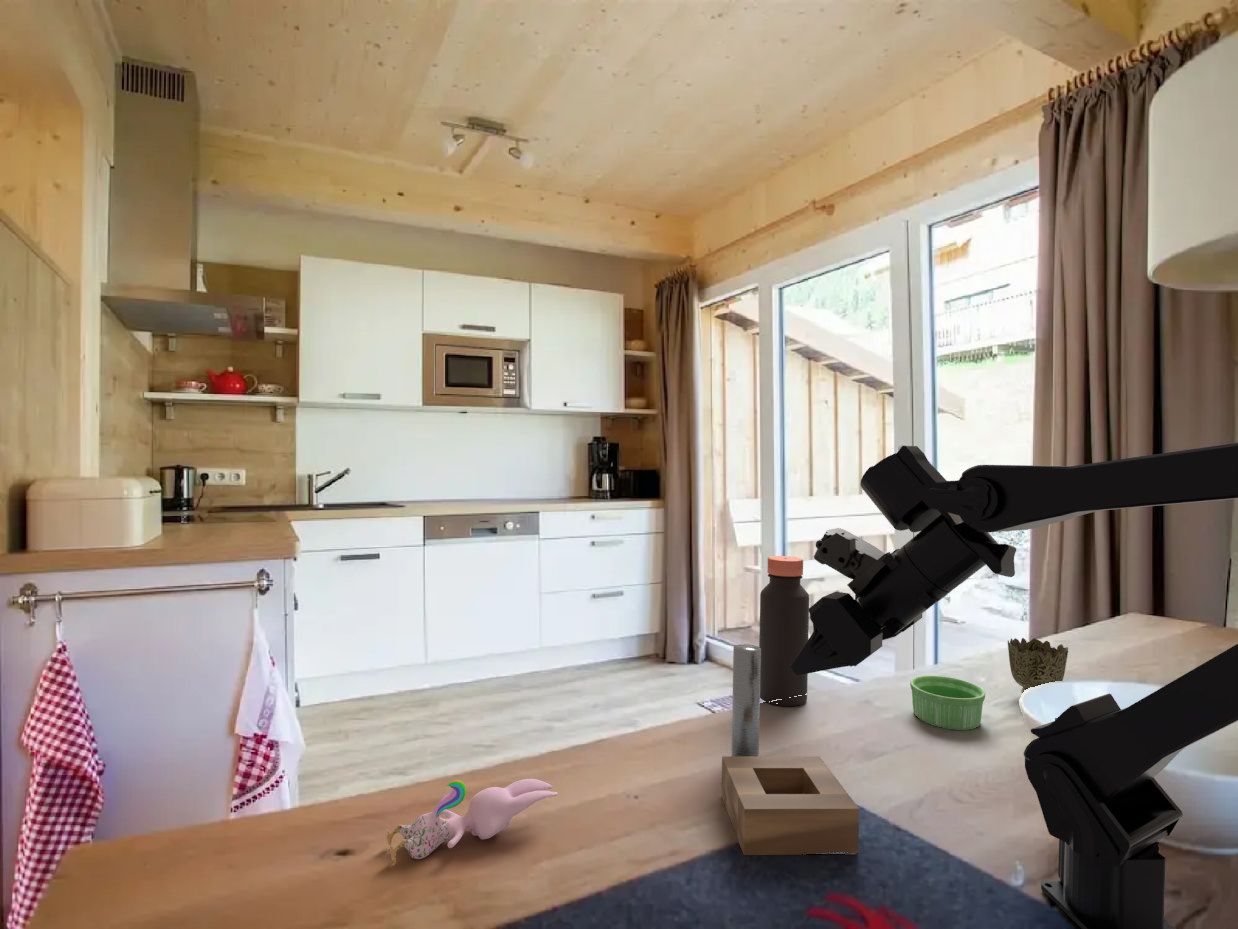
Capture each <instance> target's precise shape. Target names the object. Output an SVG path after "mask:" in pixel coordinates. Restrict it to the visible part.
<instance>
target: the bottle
mask: <svg viewBox="0 0 1238 929" xmlns="http://www.w3.org/2000/svg"><path fill="white" fill-rule="evenodd" d="M766 571H767V572H766V573H767V577H769V583H767V585H765V587H763V588H762V590H761V591H760V595H759V596H760V597H759V636H758V637H759V638H758V639H759V641H758V642H759V643H758V644H759V646H758V647H760V648H761V668H760V700H762V701H764V702H765V703H768V702H769V701H770V703H769V704H770V705H774V706H779V707H797V706H798V705H799V706H801V705H804V704H805V703H806V702H807V700H808V674H809V673H808V674H803V675H798V676H797V675H796V674H795V673H794V672H793V671H792V669H791V667H790V666H791V664H792V663H793V661H794V660H795V659H796V657H797V656H798V654H799V653H800V651H801V650H802V648H803V647H804V645H805V644H806V643H807V641H808V640H809V632H810V631H809V630H810V629H809V625H810V623H809V619H810V613H809V608H810V595H809V593H808V592H807V590H806V589H805V588H804V587H803V586H802V585H801V579H803V575H804V559H803V558H801V557H797V556H791V555H772V556H769V557H767V570H766ZM806 693H807V695H805V694H806ZM798 695H802V696H798ZM794 696H797V697H794ZM789 697H791V698H789ZM776 699H782V700H777V701H773V702H771V701H772V700H776ZM776 703H778V704H776ZM799 706H798V707H799Z"/></svg>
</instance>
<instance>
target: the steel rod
mask: <svg viewBox="0 0 1238 929" xmlns="http://www.w3.org/2000/svg"><path fill="white" fill-rule="evenodd" d="M732 648H733V656H732V659H733V661H732V664H733V665H732V704H731V705H732V708H731V709H732V710H731V717H732V718H731V753H730V754H731V756H760V714H761V713H760V712H761V710H760V709H761V708H760V707H761V698H760V668H761V648H760V647H759V646H758V645H755V644H749V643H748V644H747V643H741V644H740V643H739V644H735V645H733V647H732Z"/></svg>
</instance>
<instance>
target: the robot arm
mask: <svg viewBox="0 0 1238 929" xmlns="http://www.w3.org/2000/svg"><path fill="white" fill-rule="evenodd" d="M860 487H861V489H862V491H863V492H865V494H866V496H868V498H869V500H871V502H872V503H873V504H874V505H875V507H876V508H877V509H878V510H879V511H880V513H881V514H882V515H883V516H884V518H885V519H886V520H887V521H888V523H889V524H890V525H891V526H892V528H893V529H894V530H896V531H900V532H901V531H907V530H909V532H911V533H917V534H916V535H914V536H913V537H912V538H911V539H909V540H908V541H907V542H906V543H905V544H904V545H902V547H900V548H896V549H895V550H893V551H892V552H891V551H888V552H884V551H882V550H881V549H879V548H877V546H875V545H873V544H871V542H868V541H866V540H864V539H862V538H860V537H859V536H857V535H855V534H853V533H852V532H850V531H849V530H846V529H844V528H840V527H836V528H831V529H827V530H826V531H825V533H824V534H823V536H822V538H820V539H818V540H816V541H815V547H816V551H815V552H814V555H813V559H814V561H816V562H818V564H819V563H820V564H821V565H826V566H828V567H829V568H831V569H833V570H835V571H837V572H838V573H840V574H841V575H843V576H844V577H846V578H848V579H851V581H850V582H848V583H847V585H846V586H847V587H848V588H849V589H850V590H851V591H852V593H854V594H855V595H854V597H855V598H854V597H853V595H851V594H850V593H848V592H842V591H841V592H840V591H833V592H831V593H829V594H826V595H825V596H822V597H821V598H820V599H818V600H817V601H816V602H815V603H813V604H812V605H811V606H809V619H810V620H811V623H812V627H813V628H812V629H813V630H812V633H811V635H810V636H809V637H808V641H807V643H806V644H805V645H804V647H803V648H802V650H801V651H800V653H799V654H798V656H797V657H796V659H795V660H794V661H793V663H792V664H791V666H790V667H791V669H792V671H793V672H794V673H795V674H796V675H797V676H798V675H803V674H811V673H812V674H813V673H818V672H823V671H828V670H833V669H838V668H845V667H851V668H852V667H857V666H858V665H859V664H861V663H862V662H863V661H865V660H866V659H868V658H869V657H871V655H873V654H874V653H876V652H877V651H878V650H879V649H881V648H882V647H883V641H884V640H888V639H892V638H895V637H897V636H898V635H900V634H901V633H904V632H905V631H906V630H908V629H909V628H911V627H912V626H914V625H915V624H916V623H918V621H920V620H921V619H922V618H923V614H924V612H926V611H927V610H928V609H930V608H932V607H933V606H934V605H935V604H937V603H939V602H940V601H941V600H942V599H944V598H945V597H946V596H948V594H950V593H951V592H952V591H954V590H955V589H956V588H957V587H959V586H960V585H961V584H962V583H964V582H965V581H966V580H968V579H970V577H971V576H973V575H974V574H976V573H977V572H978V571H979V570H981V569H982V568H983V567H984V566H987V568H989V569H990V571H991V572H992V573H993V574H995V575H999V576H1003V577H1008V578H1012V577H1014V576H1015V573H1016V570H1015V568H1016V567H1015V555H1016V552H1017V548H1016V547H1015V546H1013V545H1010V544H1008V543H998V542H997V540H996V539H995V538H994V537H993V536H992V535H991V534H990V533H998V532H999V533H1001V532H1013V531H1015V532H1016V531H1028V530H1033V529H1038V528H1040V527H1045V526H1049V525H1052V524H1057V523H1060V522H1064V521H1065V522H1066V521H1068V520H1071V519H1074V518H1077V517H1081V516H1083V515H1087V514H1091V513H1092V514H1093V513H1096V512H1100V511H1110V510H1121V509H1134V508H1144V507H1146V508H1147V507H1155V506H1156V507H1157V506H1169V505H1171V506H1172V505H1179V504H1180V505H1181V504H1191V503H1193V504H1194V503H1204V502H1215V501H1227V500H1228V501H1229V500H1238V442H1234V443H1227V444H1219V445H1213V446H1207V447H1204V446H1203V447H1198V448H1191V449H1183V450H1177V451H1171V452H1170V451H1169V452H1163V453H1156V454H1149V455H1142V456H1140V455H1139V456H1135V457H1128V458H1122V459H1121V458H1119V459H1113V460H1106V461H1105V460H1104V461H1099V462H1092V463H1091V462H1090V463H1086V464H1078V465H1034V464H1033V465H1031V464H1030V465H1028V464H1027V465H1025V464H1023V465H1022V464H1017V465H1016V464H978V465H974V466H971V467H968V468H967V469H965V470H963V472H962V473H961V476H960V477H959V479H957V480H947V479H946V478H945V477H944V476H943V475H942V474H941V473H940V472H939V471H938V469H936V468H935V467H934V466H933V464H932V463H931V462H930V461H929V459H928V458H927V456H926V454H925V453H924V451H922V450H921V449H920V447H919V446H918V445H902V446H901V447H900V448H899V450H898V451H897V452H896V453H892V454H890V455H888V456H887V457H885V458H882V459H881V460H880V461H878V462H877V463H875V464H874V465H872V466H869V468H868V469H866V471H865V472H864V474H863V475H862V476H861V480H860ZM1237 722H1238V643H1236V644H1234V645H1233V646H1231V647H1230V648H1227V649H1226V650H1224V651H1222V652H1221V653H1220V654H1217V655H1216V656H1214V657H1212V658H1211V659H1209V660H1207V661H1205V662H1203V663H1202V664H1200V665H1199V666H1198V665H1197V667H1195V668H1192V670H1190V671H1188V672H1185V674H1183V675H1181V676H1179V677H1177V678H1176V679H1174V680H1173V681H1170V682H1169V683H1167V684H1165V685H1164V686H1161V687H1160V688H1158V689H1157V690H1155V691H1154V692H1151V693H1150V694H1148V695H1147V696H1145V697H1143V698H1141V699H1140V700H1137V701H1136V702H1134V703H1133V704H1131V705H1129V706H1127V707H1125V708H1121V707H1120V706H1119V705H1118V702H1117V701H1116V700H1115V698H1114V696H1113V695H1112V694H1111V693H1110V692H1109V693H1106V694H1103V695H1099V696H1098V697H1094V698H1091V699H1088V700H1085V701H1082V702H1079V703H1076V704H1073V705H1070V706H1069V707H1068V708H1067V709H1065V710H1064V711H1063V712H1062V713H1060V715H1059V716H1058V717H1057V718H1056V719H1055V720H1054V721H1050V722H1048V723H1045V724H1042V725H1038V726H1036V727H1034V728H1031V729H1030V732H1031V734H1033V735H1034V736H1036V737H1037V738H1036V739H1035V738H1034V739H1033V740H1031V741H1030V742H1029V743H1028V744H1027V745H1026V747H1025V749H1024V751H1023V757H1024V768H1025V772H1026V775H1027V779H1028V781H1029V782H1030V785H1031V786H1032V788H1033V790H1034V791H1035V793H1036V796H1037V800H1038V802H1039V806H1040V810H1041V812H1042V815H1043V818H1044V823H1045V825H1046V828H1047V831H1048V832H1047V833H1048V834H1049V835H1050V836H1052V837H1053V838H1056V839H1057V840H1058V867H1057V868H1058V869H1057V870H1058V874H1057V875H1058V878H1059V880H1044V881H1040V890H1042V892H1043V893H1044V894H1045V895H1046V896H1048V897H1049V899H1050V900H1052V901H1053V902H1054V903H1055V904H1056V905H1057V906H1058V907H1059V909H1061V910H1062V911H1063V912H1064V913H1065V914H1066V915H1067V916H1068V917H1069V918H1070V919H1071V920H1072V921H1073V922H1074V923H1075V924H1076V925H1077V926H1078V927H1080V928H1081V929H1176V927H1175V926H1173V925H1172V924H1171V923H1169V922H1168V921H1167V920H1165V900H1166V899H1165V898H1166V897H1165V896H1166V895H1165V894H1166V893H1165V892H1166V862H1167V860H1166V857H1165V856H1164V855H1163V854H1161V853H1160V847H1159V844H1158V841H1159V840H1161V839H1163V838H1164V837H1168V836H1171V835H1172V834H1174V832H1175V830H1176V828H1177V827H1178V825H1179V823H1180V821H1181V820H1182V818H1183V811H1182V810H1181V809H1180V807H1179V806H1178V805H1177V804H1176V802H1174V800H1173V799H1172V798H1171V797H1170V795H1169V794H1168V793H1167V792H1166V790H1164V788H1163V787H1162V786H1161V784H1160V783H1158V781H1157V780H1156V779H1155V777H1156V776H1157V775H1158V774H1160V773H1161V772H1162V771H1163V770H1164V769H1166V767H1167V766H1168V765H1169V764H1170V763H1171V762H1172V761H1173V760H1174V759H1175V758H1176V757H1177V755H1179V753H1180V752H1182V751H1183V750H1184V749H1186V748H1187V747H1189V746H1190V745H1194V744H1195V743H1198V742H1199V741H1201V740H1203V739H1205V738H1207V737H1209V736H1211V735H1213V734H1215V733H1216V732H1217V733H1218V732H1219V731H1220V730H1223V729H1226V727H1230V726H1231V725H1232V724H1235V723H1237Z"/></svg>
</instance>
